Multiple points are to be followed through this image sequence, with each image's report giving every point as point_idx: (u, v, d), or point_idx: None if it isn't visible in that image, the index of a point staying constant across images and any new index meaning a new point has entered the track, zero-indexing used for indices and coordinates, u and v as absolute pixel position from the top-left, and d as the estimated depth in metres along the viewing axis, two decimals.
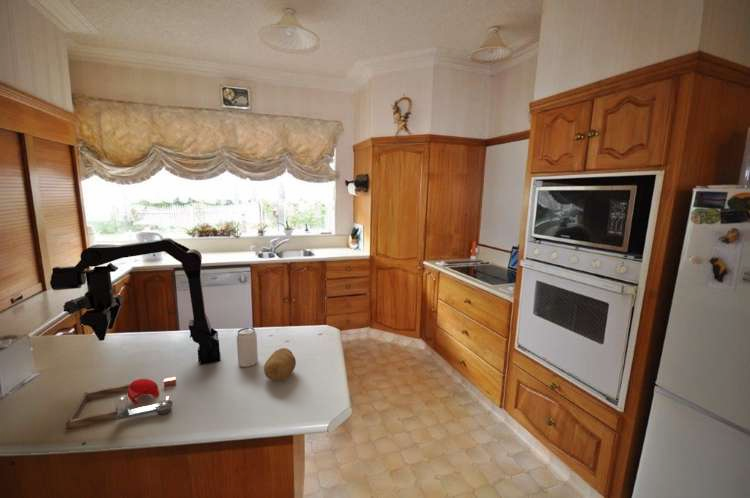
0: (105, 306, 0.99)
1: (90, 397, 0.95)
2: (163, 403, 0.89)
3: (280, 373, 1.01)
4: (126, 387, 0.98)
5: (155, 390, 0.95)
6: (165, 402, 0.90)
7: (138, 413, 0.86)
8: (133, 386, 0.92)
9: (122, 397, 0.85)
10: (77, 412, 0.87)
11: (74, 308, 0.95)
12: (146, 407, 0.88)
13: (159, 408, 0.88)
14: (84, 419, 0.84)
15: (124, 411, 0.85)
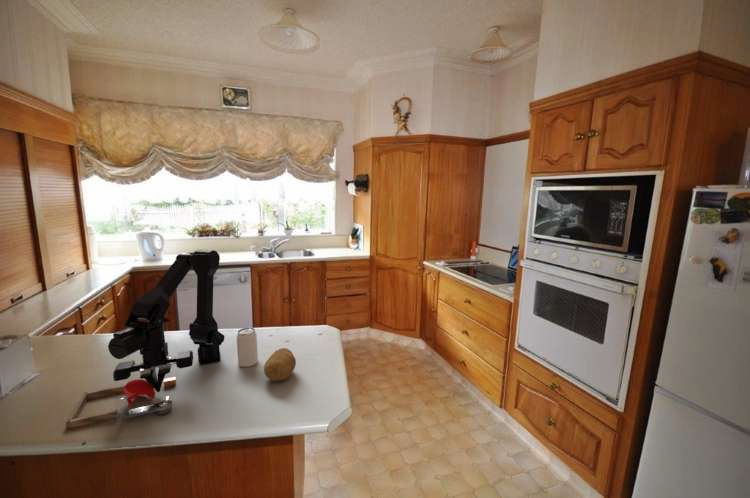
0: None
1: (90, 397, 0.95)
2: (163, 403, 0.89)
3: (280, 373, 1.01)
4: None
5: (151, 391, 0.95)
6: (165, 402, 0.90)
7: (138, 413, 0.86)
8: (128, 386, 0.92)
9: (122, 397, 0.85)
10: (77, 412, 0.87)
11: None
12: (146, 407, 0.88)
13: (159, 408, 0.88)
14: (84, 419, 0.84)
15: (124, 411, 0.85)
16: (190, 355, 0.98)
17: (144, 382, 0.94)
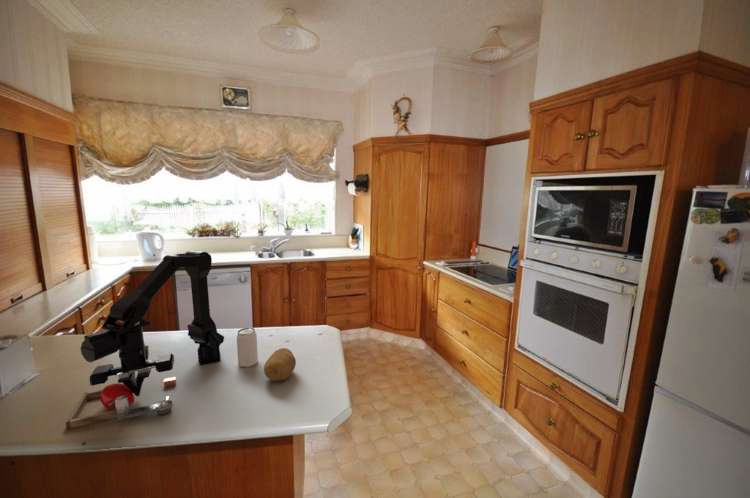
0: None
1: (90, 397, 0.95)
2: (163, 403, 0.89)
3: (280, 373, 1.01)
4: None
5: (130, 395, 0.93)
6: (165, 402, 0.90)
7: (138, 413, 0.86)
8: (106, 391, 0.89)
9: (122, 397, 0.85)
10: (77, 412, 0.87)
11: None
12: (146, 407, 0.88)
13: (159, 408, 0.88)
14: (84, 419, 0.84)
15: (124, 411, 0.85)
16: (170, 358, 0.95)
17: (122, 386, 0.92)
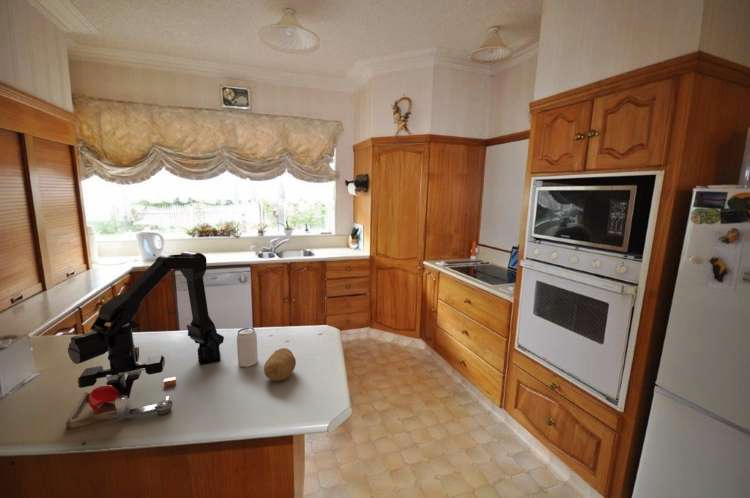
0: None
1: None
2: (163, 403, 0.89)
3: (280, 373, 1.01)
4: None
5: None
6: (165, 402, 0.90)
7: (138, 413, 0.86)
8: (94, 393, 0.88)
9: (122, 397, 0.85)
10: (77, 412, 0.87)
11: None
12: (146, 407, 0.88)
13: (159, 408, 0.88)
14: (84, 419, 0.84)
15: (124, 411, 0.85)
16: (160, 361, 0.94)
17: (111, 388, 0.91)
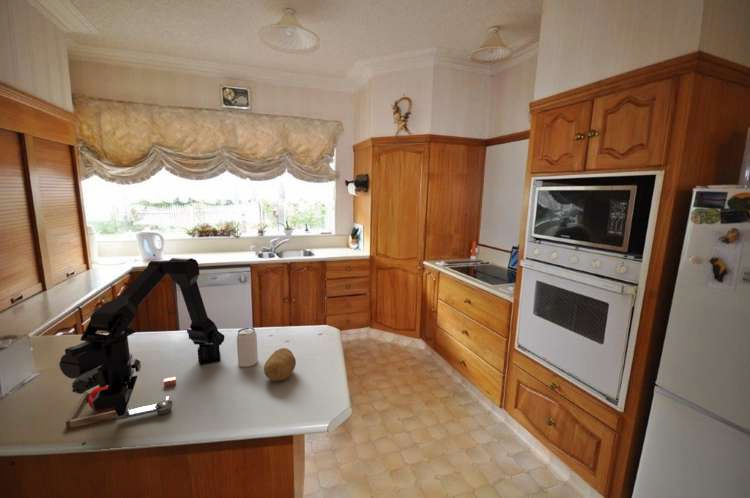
0: (122, 381, 0.82)
1: None
2: (163, 403, 0.89)
3: (280, 373, 1.01)
4: None
5: None
6: (165, 402, 0.90)
7: (138, 413, 0.86)
8: (94, 393, 0.88)
9: None
10: (77, 412, 0.87)
11: (85, 388, 0.78)
12: (146, 407, 0.88)
13: (159, 408, 0.88)
14: (84, 419, 0.84)
15: None
16: None
17: None
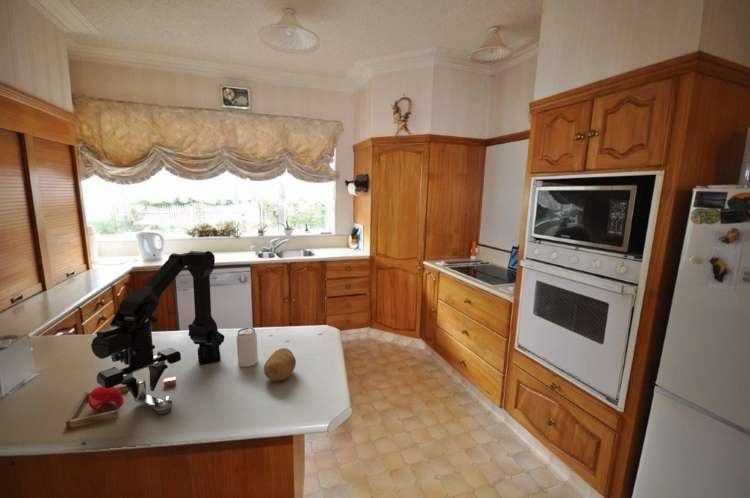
0: (133, 366, 0.89)
1: None
2: (163, 403, 0.89)
3: (280, 373, 1.01)
4: (126, 387, 0.98)
5: (118, 397, 0.92)
6: (165, 403, 0.90)
7: (145, 403, 0.90)
8: (94, 393, 0.88)
9: (141, 382, 0.92)
10: (77, 412, 0.87)
11: (114, 359, 0.91)
12: (155, 400, 0.91)
13: (156, 407, 0.88)
14: (84, 419, 0.84)
15: (138, 395, 0.91)
16: (176, 350, 0.99)
17: (111, 389, 0.91)
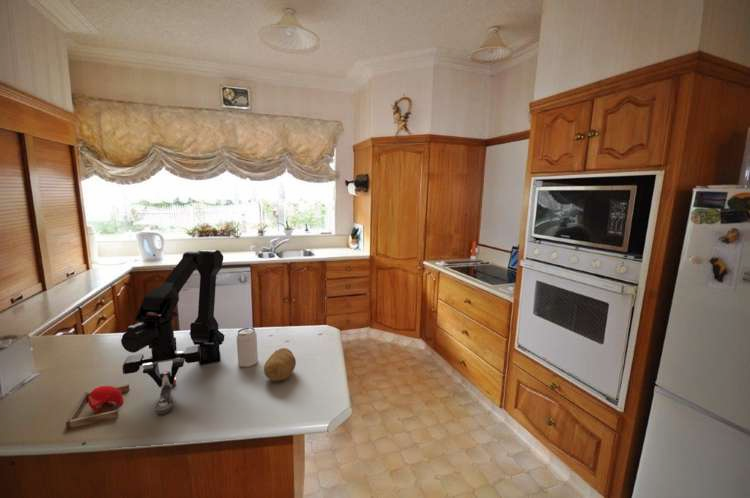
0: None
1: None
2: (163, 403, 0.89)
3: (280, 373, 1.01)
4: (126, 387, 0.98)
5: (118, 397, 0.92)
6: (165, 404, 0.89)
7: (160, 395, 0.94)
8: (94, 393, 0.88)
9: (166, 373, 0.96)
10: (77, 412, 0.87)
11: (149, 346, 0.98)
12: (166, 396, 0.93)
13: (158, 404, 0.90)
14: (84, 419, 0.84)
15: (161, 385, 0.96)
16: (198, 350, 0.98)
17: (111, 389, 0.91)
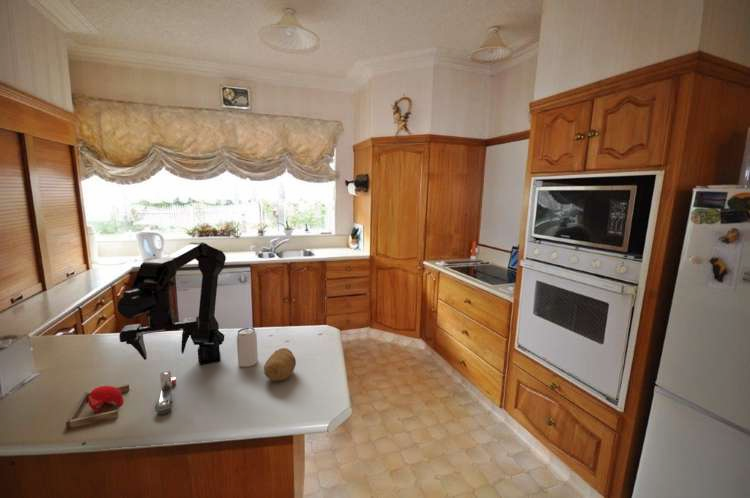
0: (150, 327, 0.92)
1: None
2: (163, 403, 0.89)
3: (280, 373, 1.01)
4: (126, 387, 0.98)
5: (118, 397, 0.92)
6: (165, 404, 0.89)
7: None
8: (94, 393, 0.88)
9: (166, 373, 0.96)
10: (77, 412, 0.87)
11: None
12: (166, 396, 0.93)
13: (158, 404, 0.90)
14: (84, 419, 0.84)
15: (161, 385, 0.96)
16: (196, 320, 0.97)
17: (111, 389, 0.91)
